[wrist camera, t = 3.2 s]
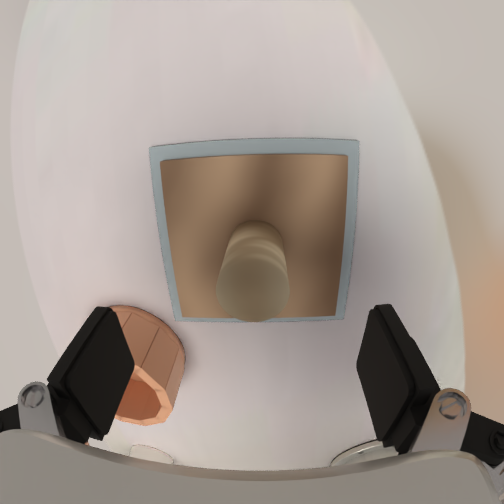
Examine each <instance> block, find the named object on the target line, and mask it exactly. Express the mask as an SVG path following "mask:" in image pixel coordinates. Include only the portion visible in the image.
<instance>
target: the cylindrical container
mask: <svg viewBox="0 0 504 504" xmlns="http://www.w3.org/2000/svg"><path fill="white" fill-rule="evenodd" d="M129 456H130V457H134V458H139V459H144V460H149V461H155V462H160V463H166V464H172V463H173V459H172V458H171V457H170V456H169V455H168V454H166V453H164V452H162V451H160V450H158V449H155V448H152V447H148V446H143V445H135V446H132V448H131V451H130V454H129Z"/></svg>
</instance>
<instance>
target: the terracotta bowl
mask: <svg viewBox="0 0 504 504" xmlns="http://www.w3.org/2000/svg"><path fill="white" fill-rule="evenodd" d="M110 308H112V309H113V311H114V312H116V314H117V316H118V319H119V322H120V325H121V328H122V330H123V333H124V336H125V338H126V341H127V344H128V346H129V349H130V351H131V354H132V357H133V359H134V362H135V368H134V371H133V373H132V376H131V378H130V380H129V383H128V385H127V387H126V390H125V392H124V395H123V397H122V400H121V402H120V405H119V407H118V410H117V412H116V415H115V417H114V418H116V419H118V420H120V421H123V422H128V423H133V424H138V425H143V426H148V425H153V424H158V423H163V422H165V421H166V419H167V418H168V416H169V415H170V413H171V412H172V410H173V407H174V403H175V400H176V396H177V393H178V390H179V386H180V383H181V379H182V376H183V372H184V369H185V368H184V364H185V352H184V349H183V346H182V344H181V342H180V340H179V338H178V337H177V335H176V334H175V333H174V332H173V331H172V330H171V329H170V328H169V327H168V326H167V325H166V324H165V323H164V322H163V321H161V320H160V319H158V318H157V317H155V316H154V315H152V314H150V313H148V312H146V311H144V310H141V309H138V308H135V307H130V306H123V305H119V306H111V307H110Z"/></svg>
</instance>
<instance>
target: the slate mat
mask: <svg viewBox="0 0 504 504" xmlns="http://www.w3.org/2000/svg"><path fill="white" fill-rule="evenodd" d="M149 154H150V165H151V175H152V184H153V193H154V201H155V209H156V216H157V224H158V230H159V237H160V243H161V250H162V256H163V261H164V267H165V273H166V278H167V283H168V289H169V294H170V299H171V303H172V308H173V313H174V318H175V321H194V322H246V321H242V320H239V319H236V318H190V317H182V313H181V308H180V303H179V297H178V292H177V287H176V281H175V275H174V269H173V263H172V257H171V251H170V244H169V237H168V230H167V223H166V215H165V207H164V199H163V190H162V180H161V170H160V161H163V160H171V159H181V158H193V157H206V156H221V155H242V154H338V155H347V156H348V181H347V203H346V219H345V233H344V245H343V255H342V265H341V275H340V283H339V291H338V299H337V307H336V314H335V316H321V317H294V318H271V319H268V320H265V321H261V322H294V321H320V320H339V319H344V313H345V307H346V300H347V294H348V286H349V279H350V271H351V263H352V254H353V245H354V234H355V223H356V210H357V194H358V173H359V141H356V140H340V139H314V138H260V139H234V140H217V141H204V142H192V143H182V144H172V145H164V146H156V147H149Z"/></svg>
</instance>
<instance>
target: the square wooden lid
mask: <svg viewBox="0 0 504 504" xmlns="http://www.w3.org/2000/svg"><path fill="white" fill-rule="evenodd" d="M160 170H161V180H162V190H163V199H164V207H165V215H166V223H167V230H168V237H169V244H170V251H171V257H172V263H173V269H174V275H175V281H176V287H177V292H178V297H179V303H180V308H181V313H182V317H190V318H236V319H239V320H242V321H246V322H261V321H265V320H268V319H271V318H294V317H321V316H335V314H336V307H337V299H338V291H339V283H340V275H341V265H342V255H343V245H344V233H345V219H346V203H347V181H348V156H347V155H338V154H242V155H221V156H206V157H193V158H181V159H171V160H163V161H160Z"/></svg>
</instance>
